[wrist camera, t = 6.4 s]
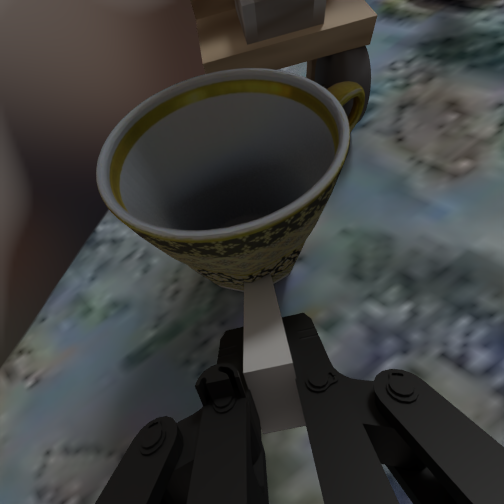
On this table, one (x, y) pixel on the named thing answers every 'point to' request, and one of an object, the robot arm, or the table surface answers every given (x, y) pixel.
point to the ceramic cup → (230, 169)
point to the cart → (289, 38)
